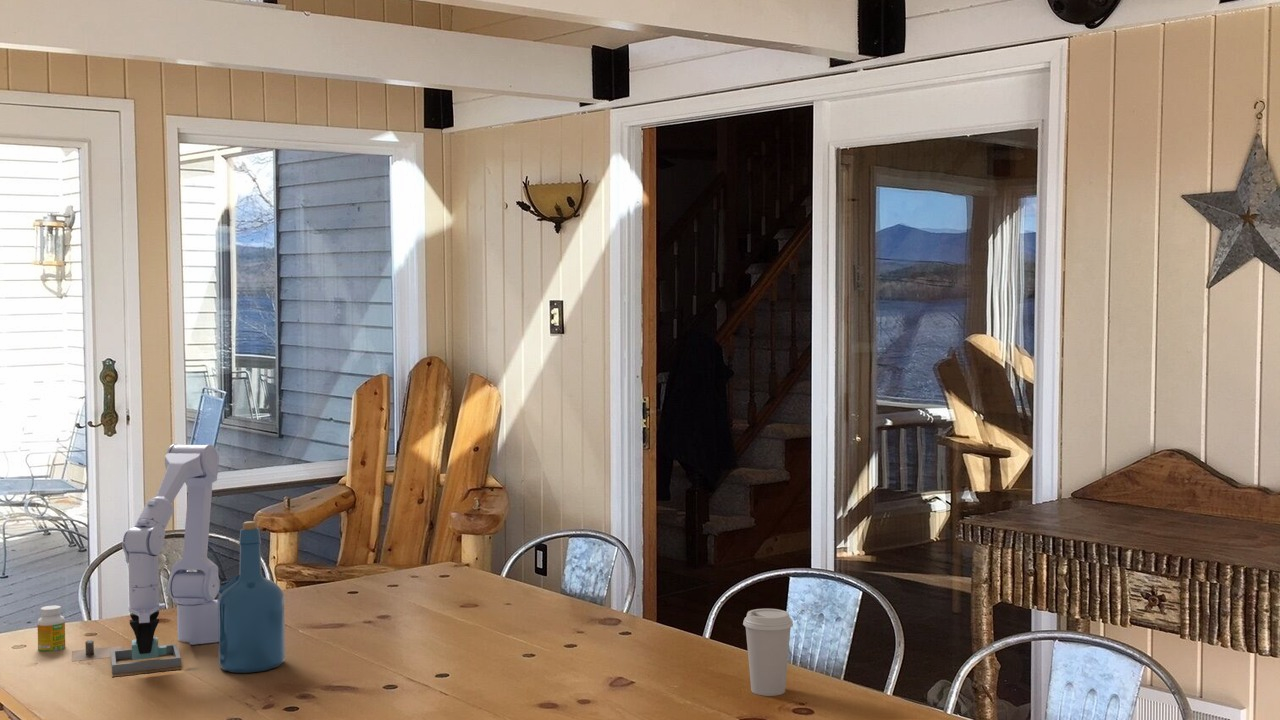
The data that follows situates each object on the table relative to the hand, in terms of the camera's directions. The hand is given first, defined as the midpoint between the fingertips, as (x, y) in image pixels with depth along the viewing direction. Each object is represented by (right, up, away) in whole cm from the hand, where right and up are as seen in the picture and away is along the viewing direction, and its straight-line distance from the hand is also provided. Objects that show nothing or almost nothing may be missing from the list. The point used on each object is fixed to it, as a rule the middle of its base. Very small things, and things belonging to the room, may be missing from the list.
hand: (145, 649), depth 257 cm
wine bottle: (+22, -4, 0) cm, 22 cm away
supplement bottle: (-25, -3, +12) cm, 28 cm away
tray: (0, -3, 0) cm, 3 cm away
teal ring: (0, -1, 0) cm, 1 cm away
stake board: (-13, -3, +7) cm, 15 cm away
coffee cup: (+127, -4, -19) cm, 129 cm away
